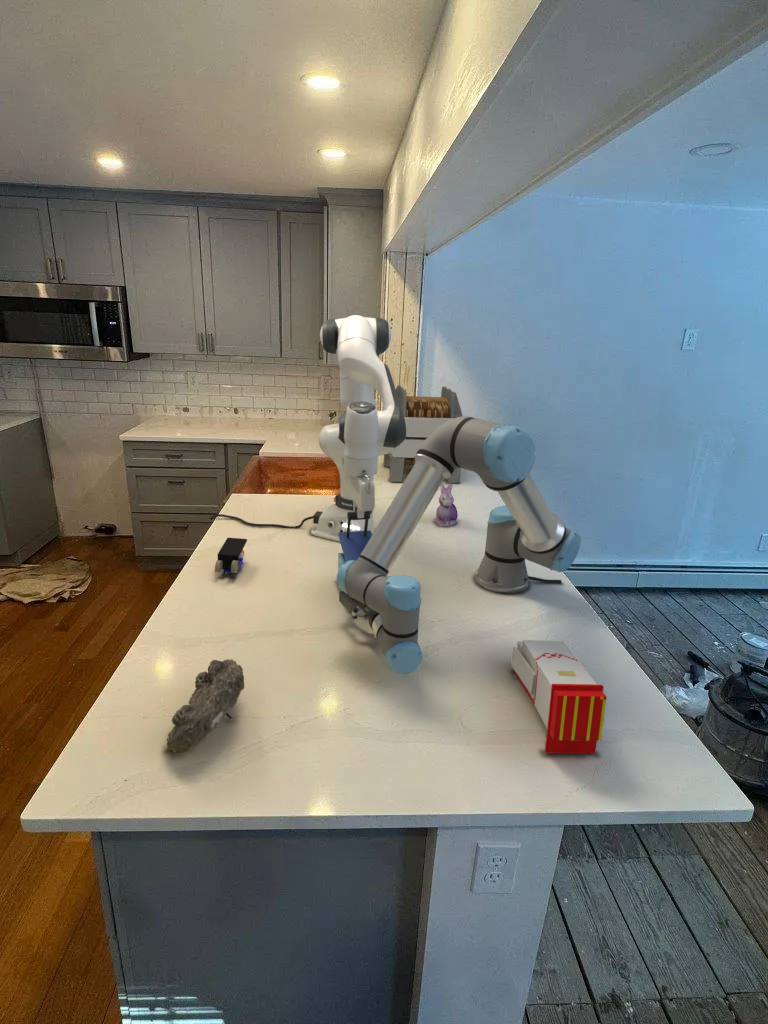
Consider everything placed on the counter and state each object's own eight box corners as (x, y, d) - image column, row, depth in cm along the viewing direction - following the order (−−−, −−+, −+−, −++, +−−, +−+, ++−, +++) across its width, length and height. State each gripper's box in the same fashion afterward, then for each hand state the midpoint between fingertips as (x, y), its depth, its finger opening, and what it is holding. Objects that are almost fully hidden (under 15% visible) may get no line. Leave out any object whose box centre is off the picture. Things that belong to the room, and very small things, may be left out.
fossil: (192, 660, 117) (244, 628, 112) (224, 691, 120) (276, 661, 115) (142, 746, 98) (202, 712, 93) (182, 779, 101) (242, 748, 96)
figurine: (442, 528, 206) (446, 489, 201) (428, 519, 214) (431, 481, 209) (464, 525, 210) (468, 486, 205) (449, 516, 218) (452, 479, 213)
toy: (559, 623, 127) (616, 692, 98) (553, 678, 130) (607, 761, 101) (505, 622, 127) (547, 691, 98) (501, 677, 130) (540, 760, 100)
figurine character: (238, 584, 162) (249, 557, 175) (236, 562, 158) (247, 536, 172) (215, 584, 161) (227, 556, 175) (212, 561, 158) (225, 535, 171)
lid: (338, 535, 159) (340, 508, 153) (370, 533, 161) (373, 506, 156) (350, 579, 145) (353, 551, 139) (385, 576, 147) (389, 549, 142)
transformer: (382, 463, 289) (386, 382, 275) (445, 464, 293) (451, 384, 279) (390, 482, 257) (394, 392, 243) (460, 483, 261) (468, 394, 247)
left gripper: (382, 477, 140) (379, 528, 145) (363, 455, 158) (361, 501, 163) (357, 478, 138) (355, 530, 143) (341, 455, 156) (340, 502, 161)
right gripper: (339, 643, 128) (323, 596, 148) (431, 632, 134) (403, 589, 154) (340, 614, 125) (323, 570, 146) (433, 604, 131) (405, 563, 151)
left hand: (358, 515), depth 153 cm, fingers closed on lid, 2 cm apart
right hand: (364, 579), depth 150 cm, fingers closed on chest, 9 cm apart
